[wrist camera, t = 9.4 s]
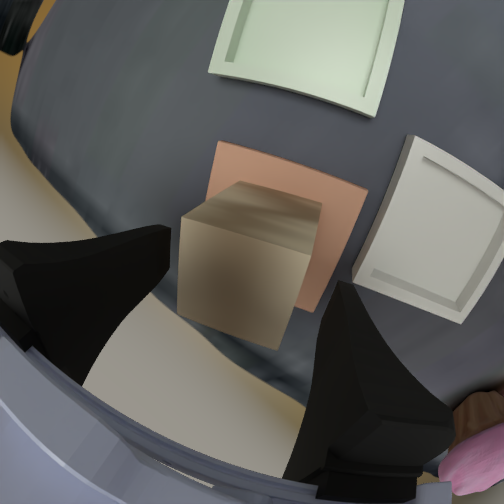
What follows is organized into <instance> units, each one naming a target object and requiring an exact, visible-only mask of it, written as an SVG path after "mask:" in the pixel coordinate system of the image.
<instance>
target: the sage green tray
mask: <svg viewBox="0 0 504 504" xmlns="http://www.w3.org/2000/svg"><path fill="white" fill-rule="evenodd" d="M404 1H405V0H230V1H229V4H228V7H227V10H226V13H225V16H224V19H223V22H222V25H221V29H220V32H219V35H218V38H217V42H216V45H215V48H214V52H213V55H212V59H211V63H210V66H209V70H208V73H211V74H214V75H217V76H220V77H226V78H232V79H237V80H243V81H248V82H253V83H258V84H262V85H267V86H271V87H275V88H279V89H283V90H287V91H291V92H295V93H298V94H302V95H305V96H309V97H312V98H315V99H319V100H322V101H325V102H328V103H331V104H334V105H337V106H340V107H343V108H345V109H348V110H351V111H354V112H356V113H359V114H361V115H364V116H366V117H369V118H374V117H375V116H376V113H377V109H378V106H379V103H380V99H381V96H382V93H383V89H384V86H385V82H386V79H387V75H388V71H389V67H390V64H391V60H392V56H393V52H394V48H395V44H396V39H397V35H398V31H399V26H400V21H401V17H402V12H403V6H404Z"/></svg>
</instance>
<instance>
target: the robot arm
mask: <svg viewBox="0 0 504 504" xmlns="http://www.w3.org/2000/svg"><path fill="white" fill-rule="evenodd" d="M170 241H171V228H169V227H166V226H163V225H151V226H146V227H141V228H137V229H132V230H128V231H124V232H120V233H116V234H111V235H107V236H102V237H98V238H92V239H87V240H80V241H72V242H57V243H28V242H18V241H9V240H7V241H3V242H1V243H0V504H451V501H452V482H451V481H446V482H435V483H425V484H421V485H417V477H420V476H421V475H422V474H423V465H424V464H425V463H427V462H429V461H430V460H432V459H433V458H435V457H437V456H438V455H440V454H441V453H443V452H444V451H445V450H446V449H448V448H449V447H450V445H451V444H452V443H453V441H454V440H455V437H456V431H455V424H454V417H453V411H452V410H451V409H450V408H449V407H448V406H446V405H445V404H444V403H443V402H441V401H440V400H439V399H438V398H436V397H435V396H434V395H433V394H431V393H430V392H429V391H428V390H427V389H426V388H425V387H424V386H423V385H422V384H421V383H420V382H419V381H418V380H417V379H416V378H415V377H414V376H413V375H412V374H411V373H410V372H409V371H408V370H407V369H406V367H405V366H404V365H403V364H402V363H401V362H400V361H399V359H398V358H397V357H396V356H395V354H394V353H393V352H392V350H391V349H390V348H389V346H388V345H387V343H386V342H385V341H384V339H383V338H382V336H381V334H380V333H379V331H378V330H377V328H376V326H375V325H374V323H373V321H372V320H371V318H370V316H369V314H368V312H367V311H366V309H365V307H364V305H363V303H362V301H361V299H360V297H359V295H358V293H357V291H356V289H355V288H354V286H353V285H352V284H349V283H346V282H343V281H339V280H338V282H337V285H336V287H335V290H334V292H333V294H332V297H331V299H330V301H329V304H328V306H327V308H326V311H325V313H324V315H323V317H322V320H321V324H320V328H319V333H318V337H317V344H316V352H315V361H314V370H313V378H312V385H311V391H310V396H309V400H308V403H307V407H306V411H305V414H304V418H303V421H302V424H301V428H300V431H299V434H298V437H297V440H296V443H295V446H294V448H293V451H292V454H291V457H290V459H289V462H288V464H287V467H286V470H285V472H284V474H283V477H282V479H281V478H277V477H273V476H269V475H265V474H261V473H257V472H254V471H251V470H247V469H244V468H241V467H238V466H235V465H232V464H229V463H226V462H223V461H221V460H218V459H215V458H212V457H210V456H207V455H205V454H202V453H200V452H197V451H195V450H193V449H190V448H188V447H185V446H183V445H181V444H179V443H177V442H174V441H172V440H170V439H168V438H166V437H164V436H162V435H160V434H158V433H156V432H154V431H152V430H150V429H149V428H147V427H145V426H143V425H141V424H139V423H138V422H136V421H134V420H132V419H131V418H129V417H127V416H125V415H124V414H122V413H120V412H119V411H117V410H115V409H114V408H112V407H111V406H109V405H108V404H106V403H105V402H103V401H101V400H100V399H98V398H97V397H96V396H94V395H92V394H91V393H90V392H88V391H87V390H85V389H84V388H83V387H82V385H83V383H84V381H85V379H86V377H87V375H88V373H89V371H90V369H91V367H92V366H93V364H94V362H95V360H96V358H97V357H98V355H99V353H100V352H101V350H102V349H103V347H104V346H105V344H106V343H107V341H108V340H109V338H110V337H111V335H112V334H113V333H114V331H115V330H116V328H117V327H118V326H119V325H120V323H121V322H122V321H123V320H124V318H125V317H126V316H127V315H128V314H129V313H130V312H131V311H132V310H133V309H134V308H135V307H136V306H137V305H138V304H139V303H140V302H141V301H142V300H143V298H145V297H146V295H148V294H149V293H150V292H151V291H152V290H153V289H154V288H155V286H156V285H157V284H158V283H159V282H160V281H161V279H162V278H163V277H164V275H165V274H166V272H167V271H168V270H169V268H170ZM154 459H155V460H154ZM156 460H157V461H156ZM158 461H159V462H158ZM160 462H161V463H163V464H165V465H167V466H170V467H172V468H174V469H176V470H178V471H181V472H183V473H185V474H187V475H190V476H192V477H194V478H197V479H199V480H202V481H205V482H207V483H210V484H213V485H215V486H213V487H212V488H210V487H208V486H205V485H203V484H201V483H199V482H196V481H194V480H192V479H190V478H188V477H186V476H184V475H182V474H180V473H178V472H176V471H174V470H172V469H170V468H169V467H167V466H165V465H163V464H161V463H160Z"/></svg>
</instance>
